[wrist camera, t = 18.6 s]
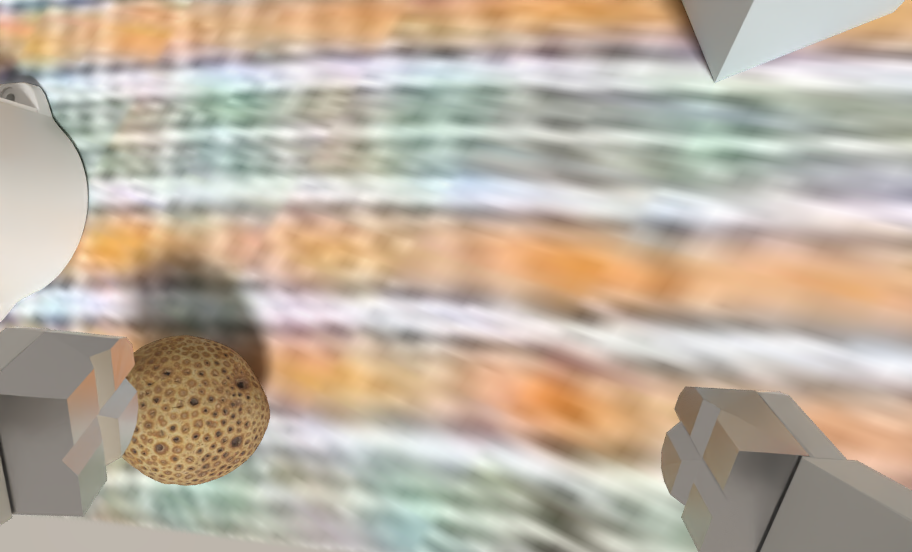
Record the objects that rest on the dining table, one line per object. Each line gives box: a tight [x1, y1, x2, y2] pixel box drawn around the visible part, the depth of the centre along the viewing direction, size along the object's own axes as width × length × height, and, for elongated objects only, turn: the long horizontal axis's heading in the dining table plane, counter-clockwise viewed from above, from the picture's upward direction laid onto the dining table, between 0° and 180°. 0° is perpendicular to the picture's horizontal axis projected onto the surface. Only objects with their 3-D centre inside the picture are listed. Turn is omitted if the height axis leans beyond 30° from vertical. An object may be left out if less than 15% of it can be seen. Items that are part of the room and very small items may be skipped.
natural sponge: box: [122, 335, 270, 486], centre depth 39 cm, size 9×9×10 cm
